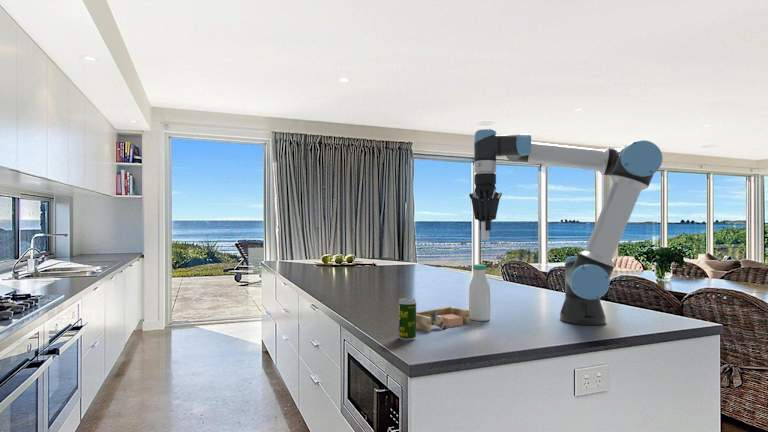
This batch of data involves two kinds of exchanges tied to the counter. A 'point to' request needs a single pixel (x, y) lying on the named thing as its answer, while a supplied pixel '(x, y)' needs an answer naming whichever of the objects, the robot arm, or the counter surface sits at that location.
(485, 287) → the milk bottle
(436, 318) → the vase
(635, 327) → the counter surface
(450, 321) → the tile
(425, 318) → the frame
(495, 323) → the counter surface
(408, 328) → the beer can
